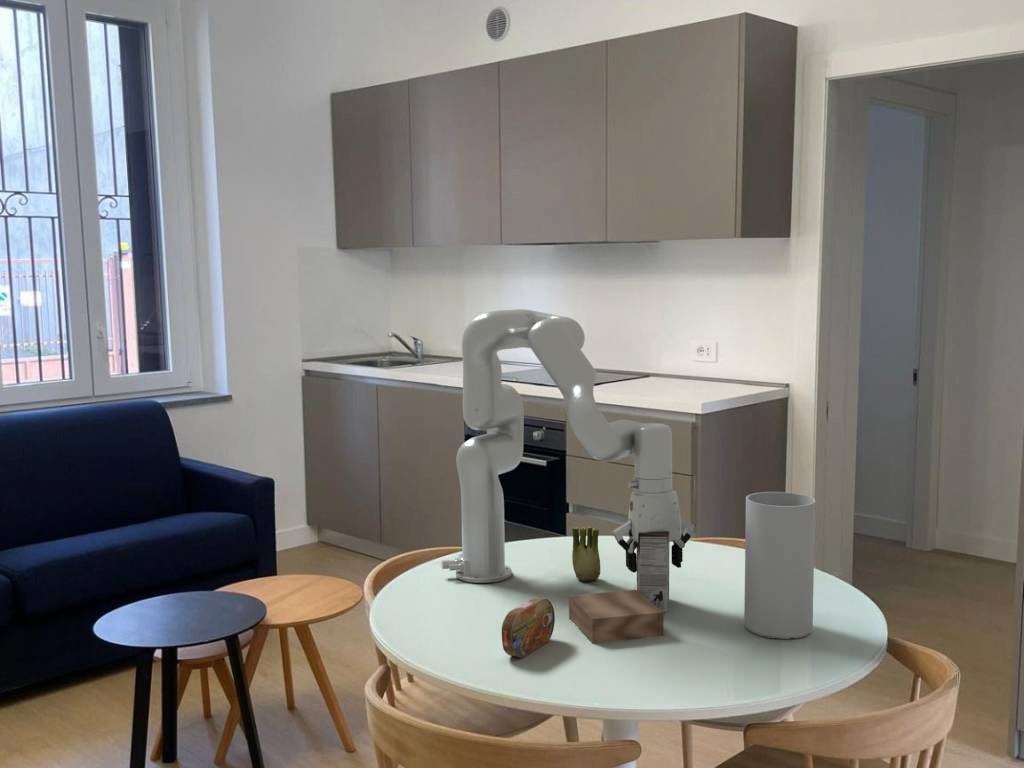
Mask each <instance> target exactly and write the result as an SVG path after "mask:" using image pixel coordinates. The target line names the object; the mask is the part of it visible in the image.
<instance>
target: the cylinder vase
mask: <svg viewBox="0 0 1024 768" xmlns="http://www.w3.org/2000/svg"><path fill="white" fill-rule="evenodd" d="M815 526H816V499H815V498H814V497H812V496H809V495H806V494H802V493H801V494H800V493H795V492H788V491H787V492H785V491H764V492H755V493H749V494H748V495H746V496H745V536H744V537H745V539H744V540H745V543H744V601H743V602H744V603H743V604H744V606H743V607H744V608H743V609H744V612H743V614H744V617H743V623H744V626H745V628H746V629H747V630H748V631H750V632H751V633H753V634H754V635H757V636H760V637H763V636H765V637H764V638H768V637H770V638H769V639H774V638H780V639H779V640H791V639H790V638H795V639H799V638H798V637H800V638H803V636H804V637H806V636H808V635H809V634H810V633H811V632H812V630H813V624H814V623H813V621H814V582H815V581H814V579H815V577H814V575H815V573H814V572H815V540H816V539H815V534H816V533H815V531H816V530H815V529H816V527H815Z"/></svg>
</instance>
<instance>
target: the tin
mask: <svg viewBox="0 0 1024 768" xmlns="http://www.w3.org/2000/svg"><path fill="white" fill-rule="evenodd" d="M555 617H556V615H555V608H554V606H553V603H552V602H551V601H550V600H549V599H547V598H536V597H535V598H531V599H529V600H527V601H526V602H524V603H522V604H521V605H519V606H517V607H515V608H513V609H512V610H510V611H509V612H508V613H507V614H506V616H505V618H504V619H503V622H502V624H501V645H502V648H503V651H504V652H505V653H506V655H508V656H509V657H510V656H511V657H517V658H520V659H524V658H526V657H528V656H529V655H531V654H533V653H534V652H535V651H538V649H540V648H541V647H543V646H544V645H546V644H547V643H549V641H550V640H551V637H552V635H553V632H554V628H555V622H556V621H555V620H556V619H555Z"/></svg>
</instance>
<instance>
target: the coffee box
mask: <svg viewBox="0 0 1024 768" xmlns="http://www.w3.org/2000/svg"><path fill="white" fill-rule="evenodd" d="M669 538H670V534H669V531H665V532H646V533H640V532H639V533H638V546H637V548H636V556H637V571H636V590H637V591H638V592H640V593H641V594H642V595H643V596H644V597H646V598H647V599H648V600H649V601H651V602H652V603H653V604H654V605H656V606H657V607H658V608H659V609H661V610H662V611H663V612H664V613H669V612H670V542H669Z"/></svg>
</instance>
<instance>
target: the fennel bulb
mask: <svg viewBox="0 0 1024 768" xmlns="http://www.w3.org/2000/svg"><path fill="white" fill-rule="evenodd" d="M599 531H600V530H599V529H598V528H595V527H592V526H587V527H584V526H583V527H580V529H579V527H578V526H575V527H573V528H572V555H571V556H572V566H573V567H572V568H573V571H574V574H575V577H576V578H577V579H578V580H580V581H581V582H585V583H587V582H589V583H590V582H594V581H596V580H597V579H599V577H600V575H601V559H600V554H599Z"/></svg>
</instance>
